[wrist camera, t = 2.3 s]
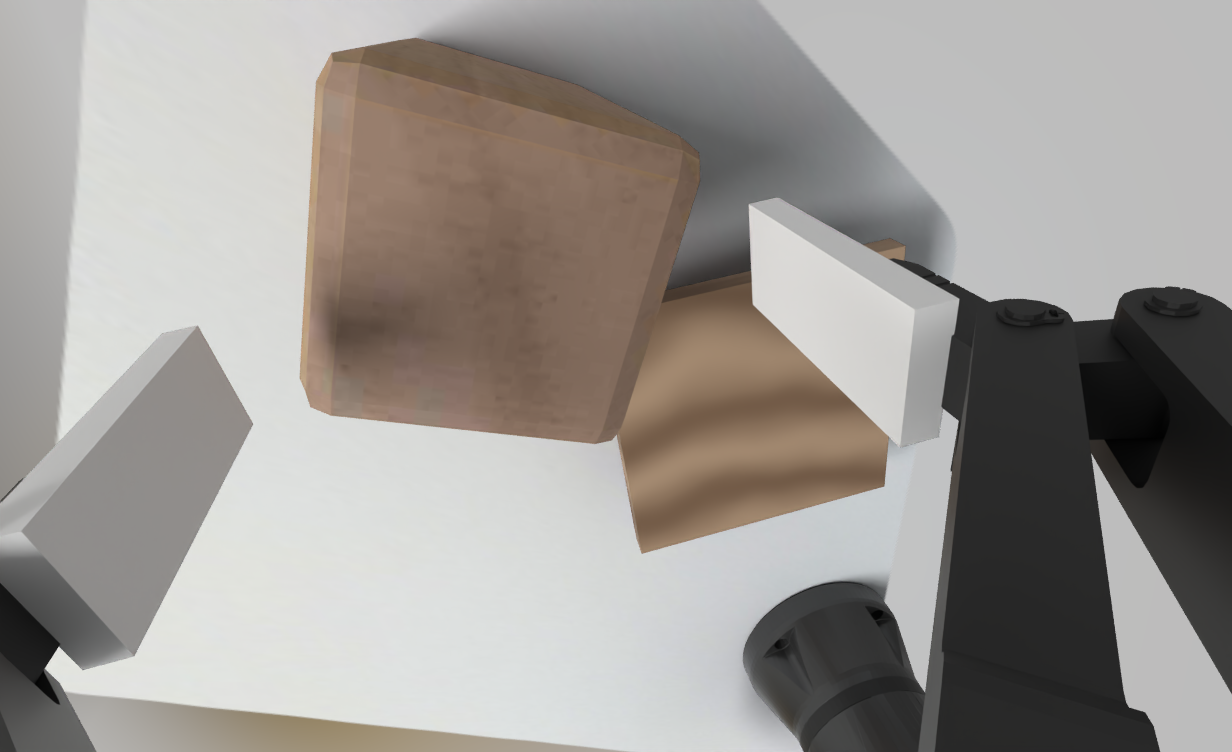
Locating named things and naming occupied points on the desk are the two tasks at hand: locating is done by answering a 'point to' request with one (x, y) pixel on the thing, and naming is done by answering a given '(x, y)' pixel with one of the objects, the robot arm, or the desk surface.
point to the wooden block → (483, 244)
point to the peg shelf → (737, 420)
